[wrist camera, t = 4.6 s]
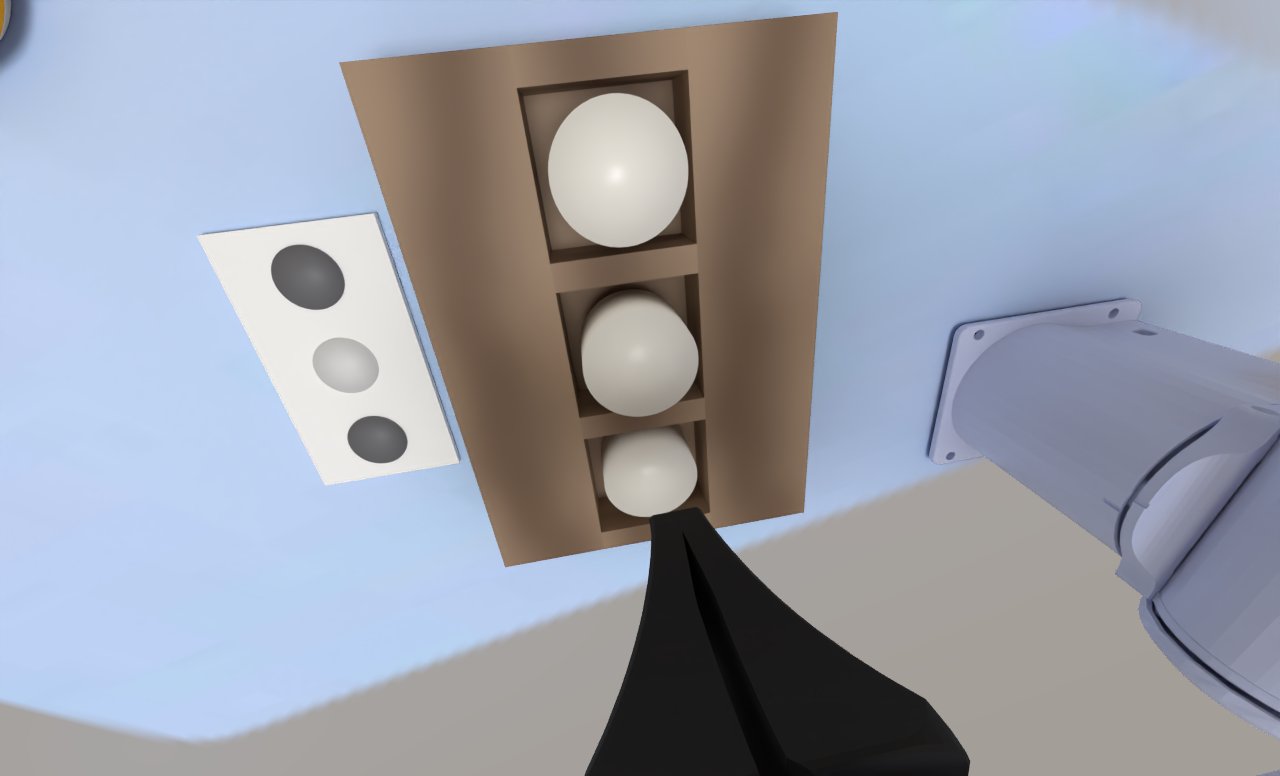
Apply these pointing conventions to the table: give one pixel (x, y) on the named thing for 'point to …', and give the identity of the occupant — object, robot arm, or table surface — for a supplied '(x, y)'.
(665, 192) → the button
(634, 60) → the button panel
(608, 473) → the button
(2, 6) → the beer can
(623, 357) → the middle button
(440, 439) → the card
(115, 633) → the table surface
